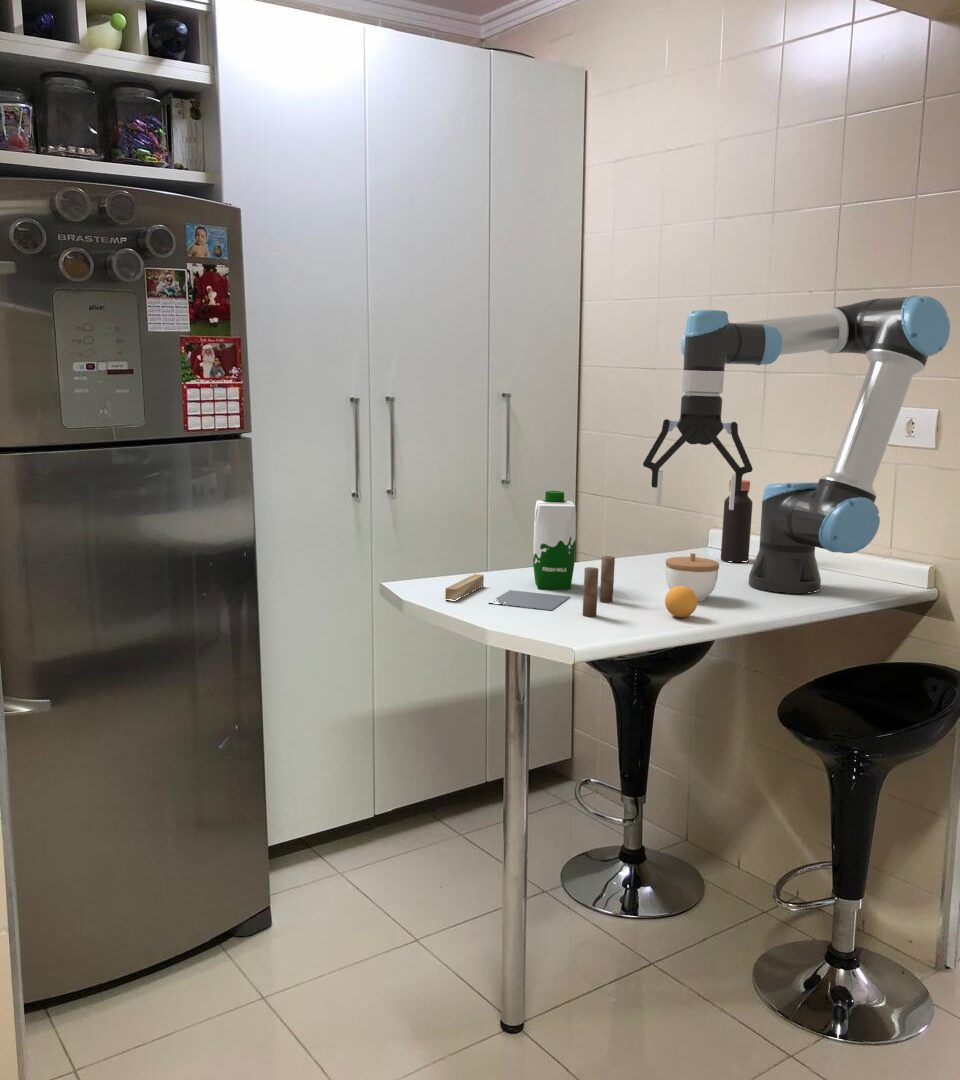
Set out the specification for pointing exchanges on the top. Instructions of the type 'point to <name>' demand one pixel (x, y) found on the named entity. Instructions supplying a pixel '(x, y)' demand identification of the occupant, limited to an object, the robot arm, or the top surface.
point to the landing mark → (531, 599)
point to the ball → (681, 601)
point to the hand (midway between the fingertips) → (694, 507)
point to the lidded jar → (692, 574)
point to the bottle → (737, 526)
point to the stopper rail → (464, 587)
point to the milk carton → (554, 541)
